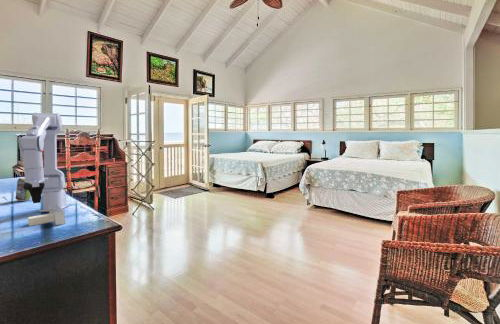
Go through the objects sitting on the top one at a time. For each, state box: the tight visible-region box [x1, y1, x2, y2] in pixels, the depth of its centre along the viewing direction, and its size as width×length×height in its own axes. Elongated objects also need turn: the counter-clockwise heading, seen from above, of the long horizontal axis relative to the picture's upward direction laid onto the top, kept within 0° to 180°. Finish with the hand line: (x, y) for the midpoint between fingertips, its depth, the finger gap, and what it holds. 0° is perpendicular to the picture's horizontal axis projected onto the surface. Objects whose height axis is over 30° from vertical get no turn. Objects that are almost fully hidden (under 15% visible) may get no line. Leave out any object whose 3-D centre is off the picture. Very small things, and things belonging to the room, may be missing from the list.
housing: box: [48, 205, 66, 226], centre depth 109 cm, size 14×3×5 cm, turn 45°
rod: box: [27, 213, 54, 227], centre depth 107 cm, size 11×3×3 cm, turn 134°
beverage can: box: [15, 177, 32, 202], centre depth 140 cm, size 6×7×12 cm
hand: (36, 202), depth 104 cm, fingers closed
